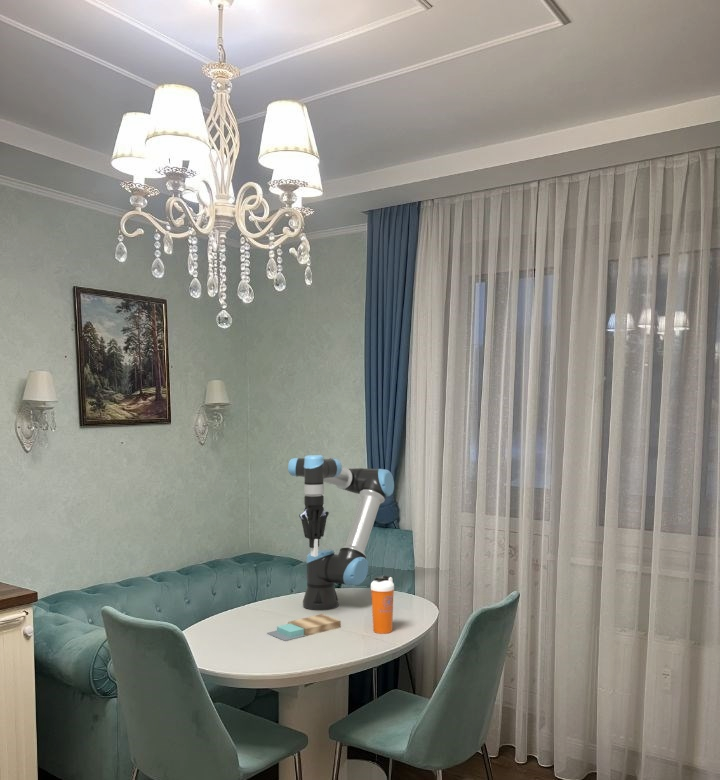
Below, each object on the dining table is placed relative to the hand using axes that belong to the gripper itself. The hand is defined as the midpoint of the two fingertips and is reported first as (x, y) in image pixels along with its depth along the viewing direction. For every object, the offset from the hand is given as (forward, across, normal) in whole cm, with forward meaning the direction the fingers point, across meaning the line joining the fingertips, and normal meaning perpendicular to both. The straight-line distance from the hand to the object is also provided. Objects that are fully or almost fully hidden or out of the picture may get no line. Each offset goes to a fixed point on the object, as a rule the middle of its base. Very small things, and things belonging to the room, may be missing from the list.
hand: (314, 555), depth 277 cm
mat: (+26, +16, +4) cm, 31 cm away
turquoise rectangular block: (+26, +14, +4) cm, 30 cm away
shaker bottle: (+27, -14, +24) cm, 38 cm away
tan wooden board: (+26, +3, +4) cm, 27 cm away
